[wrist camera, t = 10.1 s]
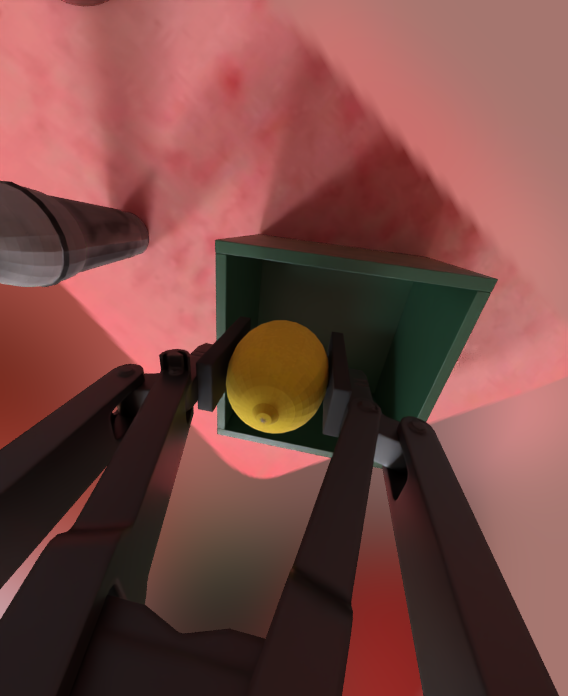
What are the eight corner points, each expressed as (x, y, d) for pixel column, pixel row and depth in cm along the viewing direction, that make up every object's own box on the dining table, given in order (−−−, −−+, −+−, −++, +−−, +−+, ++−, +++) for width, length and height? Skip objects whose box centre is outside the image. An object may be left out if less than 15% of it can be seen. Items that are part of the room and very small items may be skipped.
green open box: (258, 234, 27) (214, 239, 16) (427, 257, 25) (498, 279, 15) (250, 371, 35) (217, 434, 24) (377, 395, 33) (400, 472, 23)
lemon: (239, 317, 17) (177, 379, 10) (316, 294, 16) (307, 348, 9) (266, 382, 19) (231, 472, 12) (337, 367, 18) (344, 460, 11)
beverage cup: (121, 181, 26) (-295, 89, 9) (172, 238, 28) (-87, 259, 11) (90, 229, 29) (-271, 234, 12) (138, 278, 31) (-111, 348, 13)
